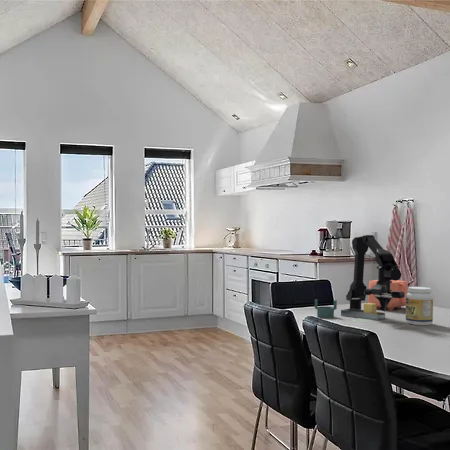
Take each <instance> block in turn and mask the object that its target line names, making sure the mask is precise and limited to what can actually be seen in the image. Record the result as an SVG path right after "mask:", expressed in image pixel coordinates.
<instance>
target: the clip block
mask: <svg viewBox="0 0 450 450" xmlns="http://www.w3.org/2000/svg"><path fill="white" fill-rule="evenodd" d="M376 306H377V304H374V303H368V302H365V303H363V310H364V313H372V314H376V312H377V308H376Z"/></svg>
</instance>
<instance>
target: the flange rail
mask: <svg viewBox="0 0 450 450" xmlns="http://www.w3.org/2000/svg"><path fill="white" fill-rule="evenodd" d="M340 316H343V317H349V318H361V319H369V320H374V321H379V320H384V319H386V312H384V311H376V314H372V313H364V309H361V310H359V309H350V308H346V309H340Z"/></svg>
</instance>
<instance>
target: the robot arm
mask: <svg viewBox="0 0 450 450" xmlns="http://www.w3.org/2000/svg"><path fill="white" fill-rule="evenodd" d="M351 249H352V250H353V252H354V269H353V281H352V282H351V284H350V285H349V290H348V292H347V294H346V301H349V309H359V310H362V301H364V302H365V301H366V297H367V296H368V295H371V294H373V295H376V296H375V298H377V299H378V300H379V302H380V305H381V308H380V309H382V311H381V312H386V310H387V306H388V304H389V302H390V300H391V299H392V298H404V297H405V294H404V292H403V291H393V292H392V289H390V283H392V281H391V280H394V281H397V280H399V281H400V279H401V278H402V273H401V270H400V269H398V266H397V262H396V260H395V258H394V255H393V253H392V252H390V251H389V250H386V249H384V247H382V245H381V244H380V243H379V242H378V241H377V240H376V238H375V236H374V235H372V234H363V236H357V237H353V238H352V240H351ZM368 250H370V251H371V252H372V253H373V254H374V256H375V257H374V260H375V262H376V263H377V264H378V265H377V266H376V269H377V270H378V275H377V276H378V277H377V278H378V279H377V280H378V281H377V284H376V285H375V286H374V287H372V289H371V288H370V289H369V288H367V285H365V283H364V272H365V257H366V256H365V255H366V253H367V252H368ZM383 295H385V296H383Z"/></svg>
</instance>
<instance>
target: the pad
mask: <svg viewBox="0 0 450 450" xmlns="http://www.w3.org/2000/svg"><path fill="white" fill-rule="evenodd" d="M350 321H352V322H359V323H368V322H374V321H375V320H372V319H364V318H357V317H355V318H352V319H350Z"/></svg>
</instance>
